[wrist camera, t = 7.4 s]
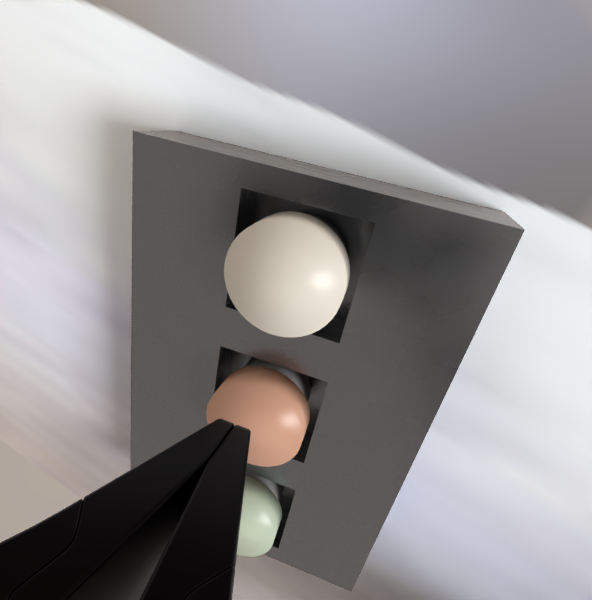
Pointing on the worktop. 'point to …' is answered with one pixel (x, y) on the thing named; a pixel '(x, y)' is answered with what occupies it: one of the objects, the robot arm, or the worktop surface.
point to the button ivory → (288, 273)
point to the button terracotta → (265, 409)
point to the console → (314, 347)
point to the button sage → (259, 515)
